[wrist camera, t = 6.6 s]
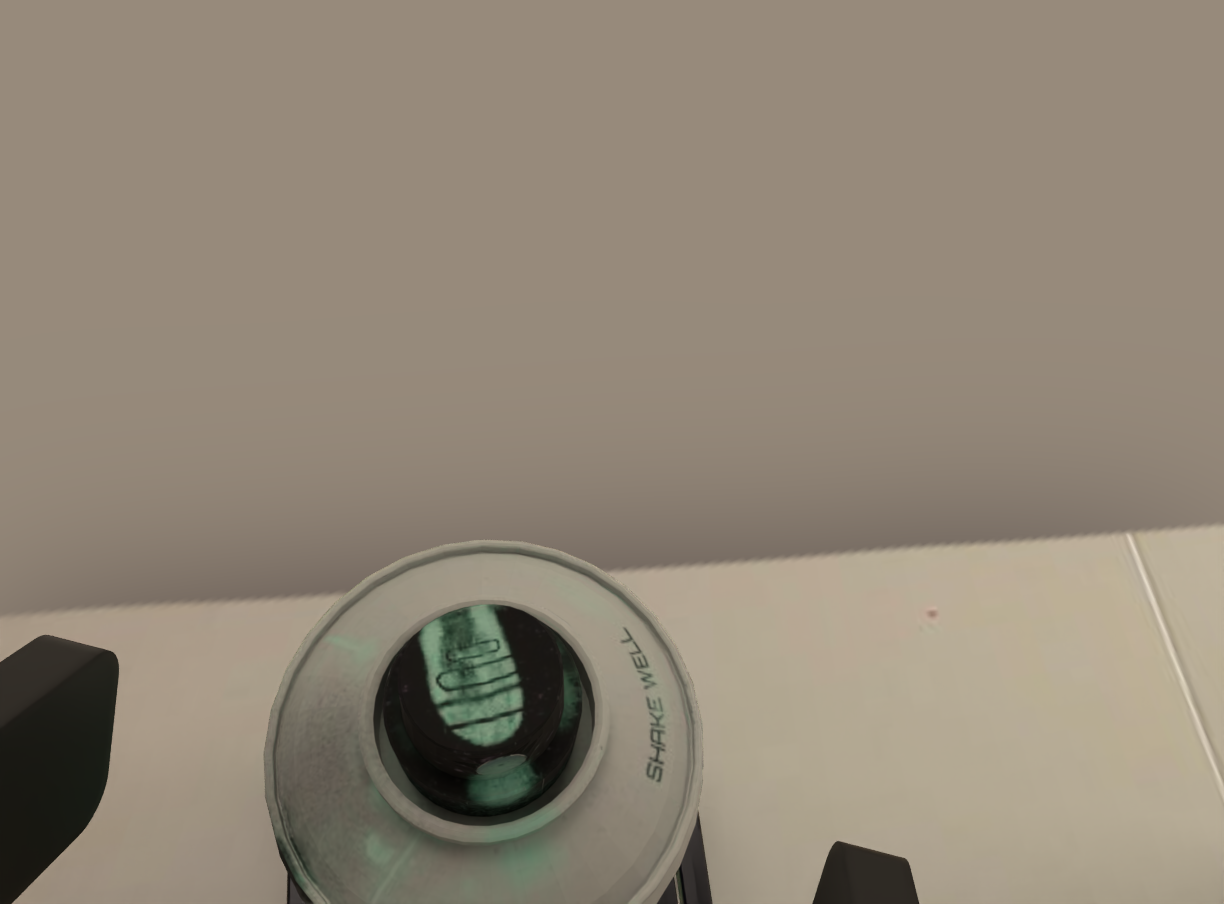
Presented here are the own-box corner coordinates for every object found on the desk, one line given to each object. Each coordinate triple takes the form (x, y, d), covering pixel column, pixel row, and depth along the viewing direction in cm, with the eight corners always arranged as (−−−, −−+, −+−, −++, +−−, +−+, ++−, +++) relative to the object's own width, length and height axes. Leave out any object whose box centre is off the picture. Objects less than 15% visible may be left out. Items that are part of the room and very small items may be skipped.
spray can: (507, 1087, 27) (485, 1119, 9) (352, 924, 28) (83, 691, 11) (652, 906, 29) (853, 660, 12) (502, 764, 30) (479, 358, 13)
